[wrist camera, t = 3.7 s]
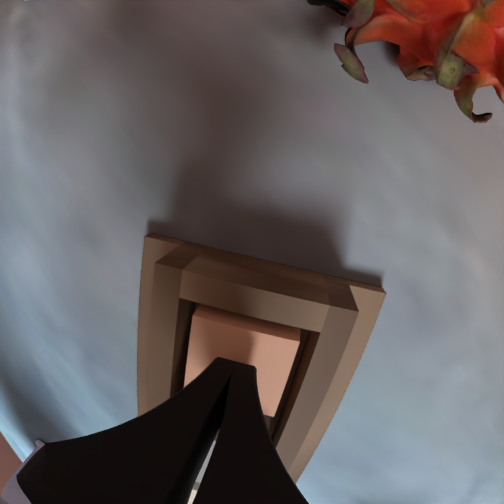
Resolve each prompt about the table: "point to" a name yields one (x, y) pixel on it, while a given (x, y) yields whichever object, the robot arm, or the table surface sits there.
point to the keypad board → (263, 307)
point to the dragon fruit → (431, 42)
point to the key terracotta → (244, 349)
